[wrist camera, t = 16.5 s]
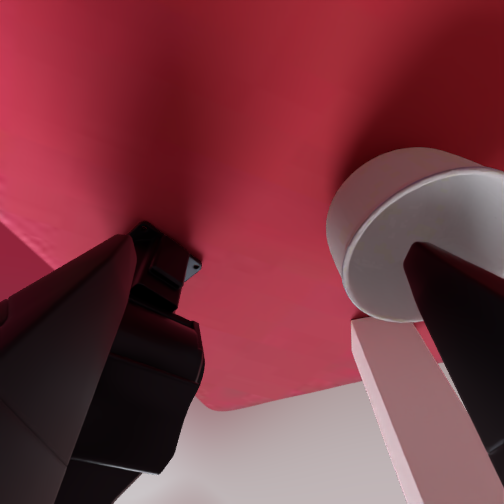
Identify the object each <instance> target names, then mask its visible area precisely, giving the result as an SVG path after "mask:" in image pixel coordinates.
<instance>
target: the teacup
mask: <svg viewBox="0 0 504 504" xmlns="http://www.w3.org/2000/svg"><path fill="white" fill-rule="evenodd" d="M326 234H327V241H328V245H329V248H330V252H331V254H332V257H333V259H334V262H335V265H336V267H337V269H338V271H339V273H340V275H341V278H342V283H343V286H344V289H345V291H346V293H347V295H348V297H349V298H350V299H351V301H352V302H353V304H354V305H355V306H356V307H357V308H359V309H360V310H361V311H363V312H364V313H366V314H367V315H370V316H372V317H374V318H377V319H379V320H384V321H388V322H399V323H404V322H419V321H424V320H423V318H422V316H421V314H420V312H419V310H418V307H417V305H416V302H415V300H414V297H413V294H412V291H411V288H410V285H409V283H408V280H407V277H406V274H405V271H404V268H403V262H404V259H405V257H406V255H407V253H408V251H409V249H410V247H411V245H412V244H413V243H414V242H416V241H420V242H429V243H431V244H434V245H436V246H438V247H440V248H442V249H444V250H446V251H448V252H450V253H452V254H454V255H456V256H458V257H460V258H462V259H464V260H466V261H468V262H470V263H473V264H475V265H477V266H479V267H481V268H483V269H485V270H487V271H489V272H491V273H493V274H495V275H497V276H499V277H501V278H503V279H504V172H503V171H500V170H497V169H494V168H490V167H485V166H482V165H480V164H478V163H476V162H473V161H470V160H468V159H465V158H463V157H460V156H457V155H454V154H451V153H448V152H445V151H442V150H438V149H433V148H424V147H412V148H403V149H397V150H394V151H390V152H387V153H384V154H382V155H379V156H377V157H375V158H373V159H371V160H370V161H368V162H366V163H365V164H363V165H362V166H361V167H359V168H358V169H357V170H355V171H354V172H353V173H352V174H351V175H350V176H349V177H348V178H347V179H346V180H345V182H344V183H343V184H342V185H341V187H340V188H339V190H338V191H337V193H336V194H335V196H334V198H333V200H332V202H331V205H330V208H329V211H328V215H327V222H326Z"/></svg>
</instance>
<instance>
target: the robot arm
mask: <svg viewBox="0 0 504 504" xmlns="http://www.w3.org/2000/svg"><path fill="white" fill-rule="evenodd" d="M142 226H144V227H146V228H147V229H144V228H142ZM194 265H198V266H194ZM201 267H202V263H201V262H200V261H199V260H198V259H197V258H195V257H194V256H193V255H191V254H190V253H189V252H188V251H187V250H186V249H184V248H183V247H182V246H180V245H179V244H178V243H176V242H175V241H174V240H172V239H171V238H170V237H168V236H166V235H164V234H163V233H162V232H160V231H159V230H158V229H156V228H155V227H154V226H152V225H151V224H150V223H148V222H146V221H142V222H140V223H139V224H138V225H137V226H136V227H135V228H134V229H133V230H132V231H131V232H130V233H129V234H128V235H115V236H113V237H111V238H109V239H108V240H106V241H104V242H103V243H101V244H99V245H98V246H96V247H94V248H92V249H91V250H89V251H87V252H86V253H84V254H82V255H80V256H79V257H77V258H75V259H74V260H72V261H70V262H68V263H67V264H65V265H63V266H62V267H60V268H58V269H56V270H55V271H53V272H51V273H50V274H48V275H46V276H44V277H43V278H41V279H39V280H38V281H36V282H34V283H32V284H31V285H29V286H27V287H26V288H24V289H22V290H20V291H19V292H17V293H15V294H14V295H12V296H10V297H9V298H8V299H5V300H3V301H1V302H0V504H113V503H114V502H115V501H116V500H117V498H118V497H119V496H120V495H121V494H122V493H123V492H124V491H125V490H126V489H127V488H128V487H129V486H130V485H131V484H132V483H133V482H134V481H135V480H136V479H137V478H138V477H139V476H140V475H141V474H142V473H147V474H153V475H159V474H160V473H161V472H162V471H163V469H164V468H165V467H166V465H167V464H168V463H169V461H170V460H171V459H172V457H173V455H174V453H175V450H176V446H177V443H178V439H179V435H180V432H181V428H182V425H183V422H184V419H185V416H186V414H187V411H188V408H189V406H190V403H191V402H192V400H193V398H194V396H195V394H196V393H197V390H198V388H199V386H200V383H201V380H202V377H203V373H204V367H205V358H204V352H203V346H202V341H201V335H200V329H199V323H197V322H195V321H189V320H187V319H185V318H183V317H181V316H179V315H176V314H175V310H176V309H177V308H178V303H179V299H180V294H181V289H182V287H183V284H184V282H185V281H187V280H188V279H189V278H190V277H192V276H193V275H194V274H196V273H197V272H198V271H199V270H201ZM403 268H404V271H405V274H406V277H407V280H408V283H409V285H410V288H411V291H412V294H413V297H414V300H415V302H416V305H417V307H418V310H419V312H420V314H421V316H422V318H423V320H424V322H425V325H426V327H427V329H428V331H429V333H430V335H431V337H432V339H433V341H434V343H435V345H436V347H437V350H438V352H439V354H440V356H441V358H442V360H443V362H444V364H445V366H446V368H447V370H448V372H449V375H450V377H451V379H452V381H453V383H454V385H455V387H456V389H457V391H458V393H459V395H460V397H461V399H462V401H463V404H464V406H465V408H466V410H467V412H468V414H469V416H470V418H471V420H472V422H473V424H474V427H475V429H476V431H477V433H478V435H479V437H480V439H481V441H482V443H483V445H484V447H485V449H486V452H487V453H489V454H488V456H489V458H490V460H491V462H492V465H493V467H494V469H495V471H496V473H497V475H498V477H499V479H500V481H501V483H502V485H503V487H504V279H503V278H501V277H499V276H497V275H495V274H493V273H491V272H489V271H487V270H485V269H483V268H481V267H479V266H477V265H475V264H473V263H470V262H468V261H466V260H464V259H462V258H460V257H458V256H456V255H454V254H452V253H450V252H448V251H446V250H444V249H442V248H440V247H438V246H436V245H434V244H431V243H429V242H420V241H416V242H414V243H413V244H412V245H411V247H410V249H409V251H408V253H407V255H406V257H405V259H404V262H403Z"/></svg>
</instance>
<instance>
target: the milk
mask: <svg viewBox="0 0 504 504" xmlns="http://www.w3.org/2000/svg"><path fill="white" fill-rule="evenodd" d="M351 346H352V353H353V356H354V359H355V361H356V364H357V367H358V370H359V372H360V375H361V378H362V381H363V383H364V386H365V389H366V392H367V394H368V397H369V400H370V402H371V405H372V408H373V411H374V414H375V416H376V419H377V422H378V425H379V427H380V430H381V433H382V436H383V438H384V441H385V444H386V447H387V449H388V452H389V455H390V457H391V460H392V463H393V466H394V469H395V471H396V474H397V477H398V480H399V483H400V485H401V488H402V491H403V493H404V496H405V499H406V502H407V504H504V487H503V485H502V483H501V481H500V479H499V477H498V475H497V473H496V471H495V469H494V467H493V465H492V462H491V460H490V458H489V456H488V454H489V453H487V452H486V449H485V447H484V445H483V443H482V441H481V439H480V437H479V435H478V433H477V431H476V429H475V427H474V424H473V422H472V420H471V418H470V416H469V414H468V413H467V411H466V409H465V408H464V406H463V405H462V403H461V401H460V400H459V398H458V396H457V395H456V393H455V392H454V390H453V388H452V387H451V385H450V383H449V382H448V380H447V378H446V377H445V375H444V373H443V372H442V370H441V368H440V367H439V365H438V363H437V362H436V360H435V359H434V357H433V355H432V354H431V352H430V350H429V349H428V347H427V345H426V344H425V342H424V340H423V339H422V337H421V336H420V334H419V332H418V331H417V329H416V327H415V326H414V324H413V322H404V323H399V322H388V321H384V320H379V319H377V318H374V317H366V318H361V319H355V320H351Z"/></svg>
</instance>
